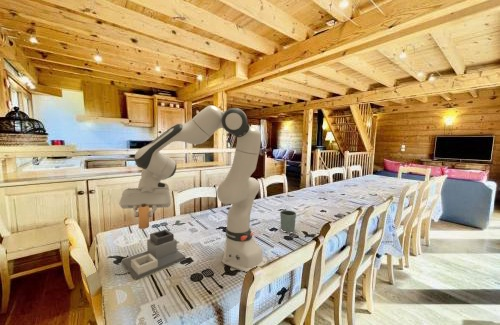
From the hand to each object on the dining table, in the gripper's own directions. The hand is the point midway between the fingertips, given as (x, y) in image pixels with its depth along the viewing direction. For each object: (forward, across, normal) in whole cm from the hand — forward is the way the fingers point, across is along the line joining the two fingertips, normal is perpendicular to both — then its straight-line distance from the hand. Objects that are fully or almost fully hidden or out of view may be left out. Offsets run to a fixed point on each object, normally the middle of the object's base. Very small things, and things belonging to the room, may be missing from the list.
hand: (143, 216), depth 90 cm
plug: (+3, 0, +4) cm, 5 cm away
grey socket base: (+12, +3, +22) cm, 25 cm away
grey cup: (-5, +78, +40) cm, 88 cm away
